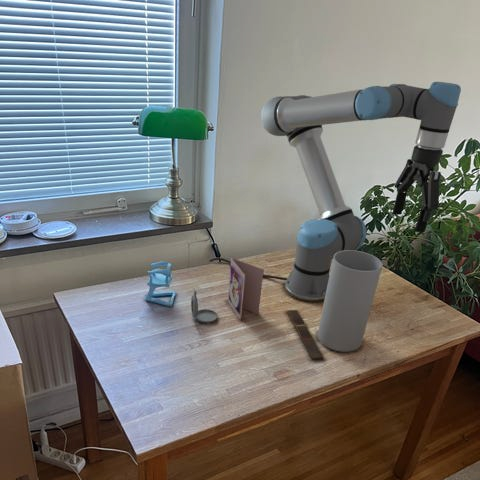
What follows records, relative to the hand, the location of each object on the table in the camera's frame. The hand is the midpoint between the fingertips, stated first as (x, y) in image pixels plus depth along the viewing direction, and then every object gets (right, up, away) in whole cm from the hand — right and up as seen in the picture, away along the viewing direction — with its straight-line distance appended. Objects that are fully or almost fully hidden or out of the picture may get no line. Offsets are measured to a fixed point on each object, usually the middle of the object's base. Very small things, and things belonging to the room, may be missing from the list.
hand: (407, 222), depth 138 cm
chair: (-74, -22, +8) cm, 77 cm away
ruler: (-31, -33, -2) cm, 45 cm away
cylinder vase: (-21, -34, -3) cm, 40 cm away
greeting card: (-48, -25, +7) cm, 55 cm away
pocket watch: (-60, -28, +1) cm, 66 cm away
